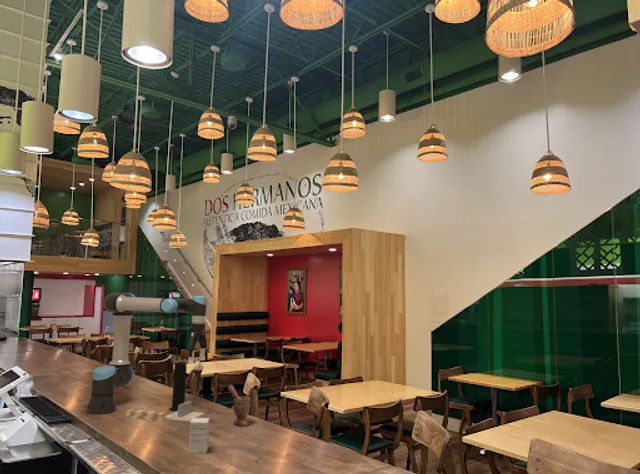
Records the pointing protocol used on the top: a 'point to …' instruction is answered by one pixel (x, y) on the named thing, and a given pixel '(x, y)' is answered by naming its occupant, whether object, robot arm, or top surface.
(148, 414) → the maple bar
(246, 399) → the mortar and pestle
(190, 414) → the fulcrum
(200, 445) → the supplement box
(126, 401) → the top surface
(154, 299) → the robot arm
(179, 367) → the handle grip
